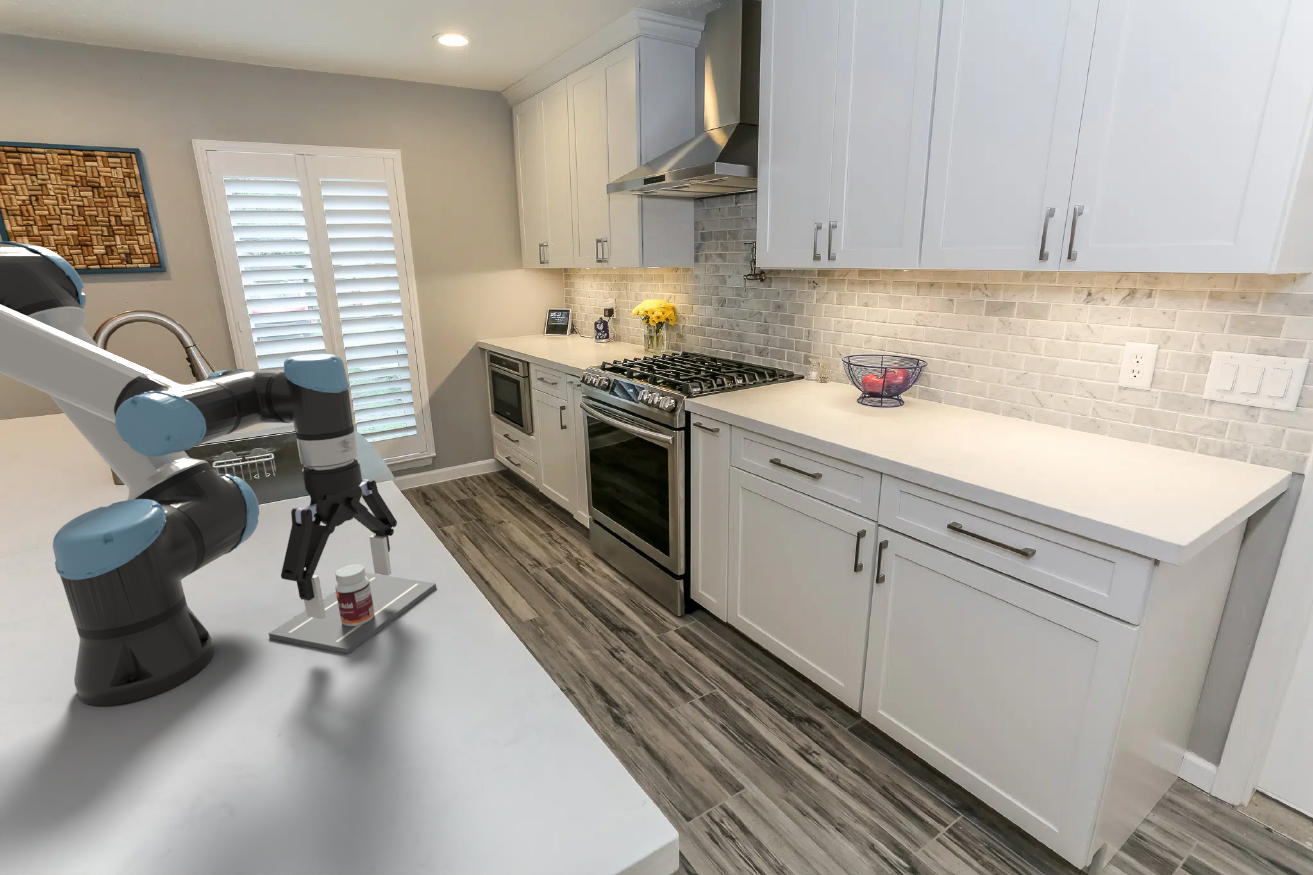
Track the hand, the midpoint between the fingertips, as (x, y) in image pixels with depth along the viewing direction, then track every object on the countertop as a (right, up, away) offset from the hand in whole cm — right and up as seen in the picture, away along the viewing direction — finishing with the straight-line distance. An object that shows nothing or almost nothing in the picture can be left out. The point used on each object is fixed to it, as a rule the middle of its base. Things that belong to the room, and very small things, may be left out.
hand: (351, 593), depth 98 cm
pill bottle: (0, -4, +1) cm, 5 cm away
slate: (-1, -4, +5) cm, 7 cm away
